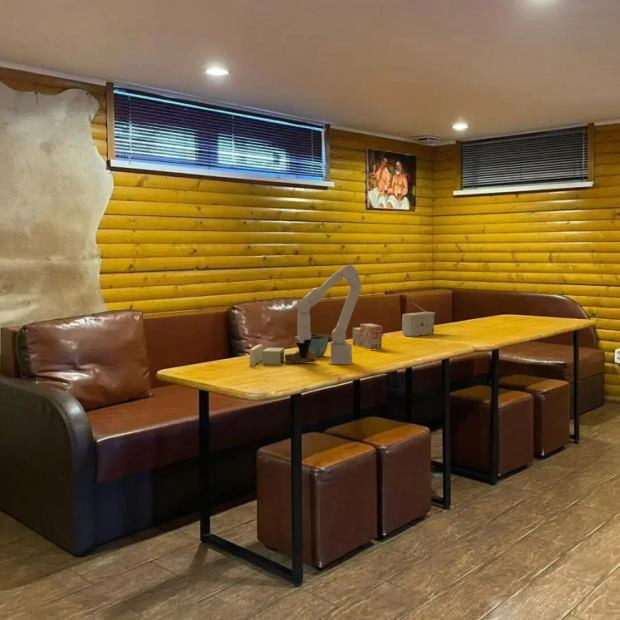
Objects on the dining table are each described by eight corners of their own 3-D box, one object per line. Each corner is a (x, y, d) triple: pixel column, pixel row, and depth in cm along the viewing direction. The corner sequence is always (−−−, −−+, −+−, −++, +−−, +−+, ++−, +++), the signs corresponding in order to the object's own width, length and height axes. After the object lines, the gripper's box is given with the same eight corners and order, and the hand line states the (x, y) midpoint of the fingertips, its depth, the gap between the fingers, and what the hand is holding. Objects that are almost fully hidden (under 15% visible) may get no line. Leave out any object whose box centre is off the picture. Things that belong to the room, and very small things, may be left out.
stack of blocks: (352, 345, 355) (352, 322, 354) (362, 344, 357) (362, 321, 356) (371, 350, 335) (371, 326, 334) (382, 349, 337) (382, 325, 336)
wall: (262, 359, 311) (262, 344, 310) (254, 365, 295) (253, 349, 294) (258, 359, 311) (258, 344, 311) (249, 365, 295) (249, 349, 295)
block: (284, 360, 306) (284, 348, 306) (279, 364, 296) (279, 351, 296) (267, 360, 307) (267, 347, 307) (262, 364, 298) (262, 351, 297)
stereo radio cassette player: (425, 333, 401) (425, 299, 399) (436, 334, 394) (436, 300, 393) (401, 336, 388) (401, 302, 386) (412, 337, 381) (412, 302, 379)
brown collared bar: (316, 360, 302) (315, 349, 302) (313, 362, 295) (313, 352, 295) (287, 361, 304) (287, 351, 304) (284, 364, 297) (283, 353, 297)
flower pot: (313, 354, 325) (313, 336, 324) (329, 355, 320) (328, 337, 319) (303, 356, 317) (303, 338, 316) (319, 358, 313) (319, 339, 312)
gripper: (298, 324, 306) (298, 354, 307) (291, 328, 292) (292, 359, 293) (313, 325, 305) (313, 354, 306) (307, 328, 290) (308, 359, 292)
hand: (304, 356), depth 299 cm, fingers closed on brown collared bar, 4 cm apart
